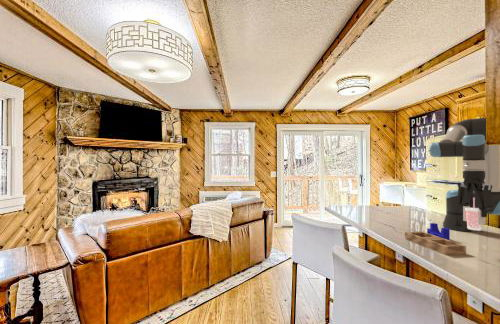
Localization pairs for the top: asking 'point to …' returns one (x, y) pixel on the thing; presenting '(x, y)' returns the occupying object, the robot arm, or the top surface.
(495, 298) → the top surface
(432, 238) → the wooden holder tray
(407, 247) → the top surface
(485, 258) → the top surface
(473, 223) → the beverage cup
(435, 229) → the blue notched block
